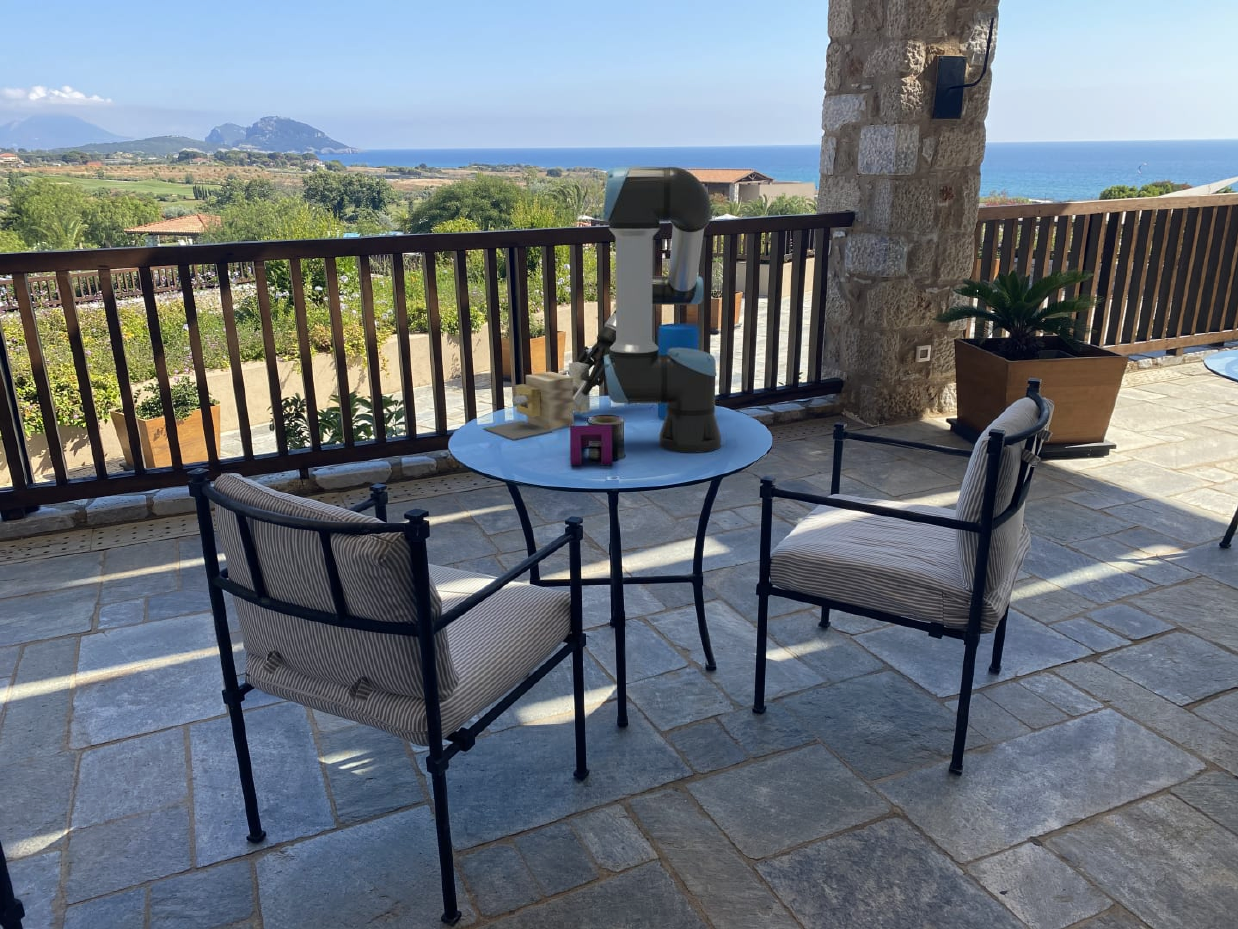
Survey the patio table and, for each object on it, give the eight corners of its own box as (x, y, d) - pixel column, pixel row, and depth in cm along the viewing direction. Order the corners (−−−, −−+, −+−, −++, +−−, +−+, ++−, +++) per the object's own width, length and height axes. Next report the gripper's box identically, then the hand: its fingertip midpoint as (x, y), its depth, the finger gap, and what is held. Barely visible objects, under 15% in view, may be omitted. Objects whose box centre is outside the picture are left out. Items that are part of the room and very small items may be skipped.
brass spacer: (524, 410, 233) (523, 383, 231) (540, 415, 228) (539, 388, 225) (516, 412, 231) (515, 385, 229) (532, 417, 226) (531, 389, 224)
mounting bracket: (572, 473, 214) (570, 462, 196) (572, 439, 215) (569, 425, 197) (611, 473, 214) (612, 462, 196) (610, 439, 215) (611, 425, 197)
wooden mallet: (578, 408, 243) (577, 361, 239) (589, 411, 240) (589, 364, 236) (510, 421, 229) (508, 372, 226) (521, 425, 226) (519, 376, 222)
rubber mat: (521, 421, 237) (521, 420, 237) (552, 432, 227) (552, 430, 227) (483, 429, 230) (483, 428, 230) (513, 440, 220) (513, 439, 220)
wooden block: (551, 418, 241) (550, 371, 237) (573, 425, 234) (572, 377, 230) (527, 422, 236) (525, 375, 232) (549, 430, 229) (547, 381, 225)
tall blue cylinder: (659, 411, 247) (660, 322, 240) (697, 413, 246) (699, 323, 238) (655, 421, 237) (656, 329, 229) (695, 422, 236) (697, 329, 228)
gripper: (643, 346, 238) (597, 415, 233) (601, 338, 251) (556, 403, 246) (629, 329, 233) (581, 399, 228) (586, 321, 247) (540, 387, 241)
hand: (568, 401), depth 237 cm, fingers closed on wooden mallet, 5 cm apart
